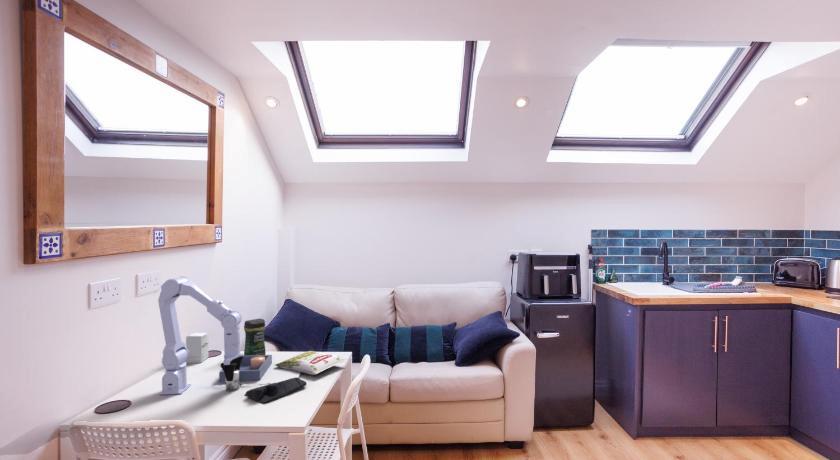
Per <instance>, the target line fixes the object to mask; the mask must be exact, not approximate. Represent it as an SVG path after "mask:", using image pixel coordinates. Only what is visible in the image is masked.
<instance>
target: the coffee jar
mask: <svg viewBox="0 0 840 460" xmlns="http://www.w3.org/2000/svg"><path fill="white" fill-rule="evenodd" d="M243 330H244V333H245V337H244V339H245V341H244V348H243V349H244V351H243V355H244V356H251V355H267V354H266V345H265V344H266V342H265V330H266V322H265V319H263V318H254V319H249V320H245V321H244V325H243Z"/></svg>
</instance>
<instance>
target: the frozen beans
mask: <svg viewBox="0 0 840 460" xmlns="http://www.w3.org/2000/svg"><path fill="white" fill-rule="evenodd" d="M345 361H347V359H346V358H344V357H341V356H339V355H335V354H329V353H324V352H318V351H314V350H308V351H305V352H303V353H300V354H297V355H296V356H292V357H290V358H289V359H286V360H283V361H281V362H278V363H276V364H275V366H276V367H278V368H281V369H284V370H285V369H286V370H292V371H295V372H300V373H301V374H306V375H310V376H316V375H317V374H319V373H321V372H323V371H325V370H327V369H329V368H331V367H335V366H336V365H338V364H341V363H344V362H345Z"/></svg>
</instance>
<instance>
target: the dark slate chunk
mask: <svg viewBox="0 0 840 460" xmlns="http://www.w3.org/2000/svg"><path fill="white" fill-rule="evenodd" d="M306 386H307V381H306V380H303V379H302V378H299V377H298V376H297V377H293V378H292V377H290V378H289V379H285V380H281V381H278V382H273V383H269V384H266V385H261V386H258V387H257V386H256V387H255V388H250V389H249V390H246V392H245V394H244V397H246V398H248V399H249V400H251V401H253V402H255V403H262V404H269V402H272V401H275V400H278V399H281V398H282V397H283V398H284V397H285V396H287V395H290V394H292V393H294V392H297V391H299V390H301V389H303V387H306Z"/></svg>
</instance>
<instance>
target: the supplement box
mask: <svg viewBox="0 0 840 460" xmlns="http://www.w3.org/2000/svg"><path fill="white" fill-rule="evenodd" d="M185 346H186V348H187V350H188V351H189V358H188V360H187V361H186V364H202V363H203V362H205V361H206V360H208V359H209V332H192V333H191V334H189V335H187V336H185Z"/></svg>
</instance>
